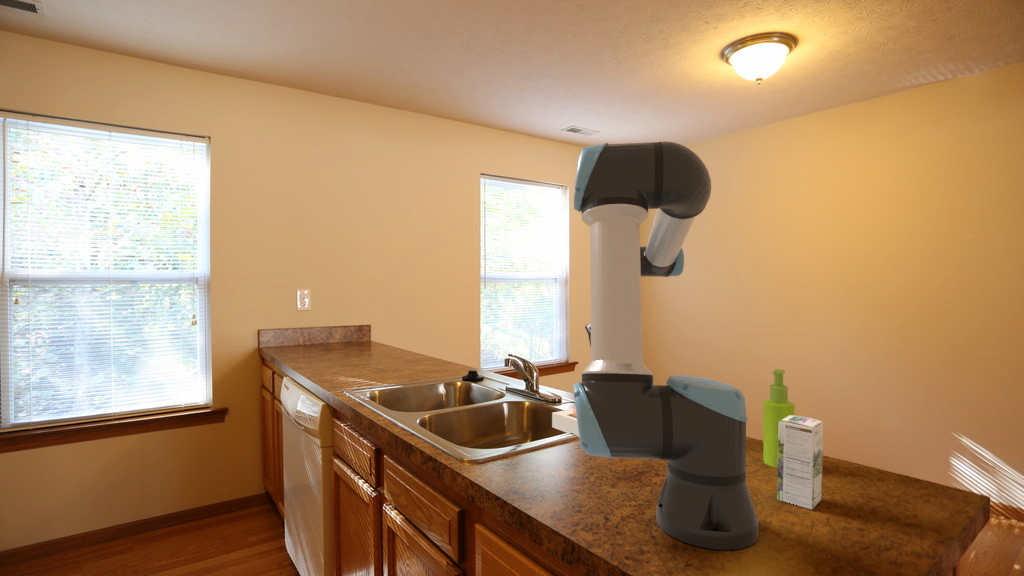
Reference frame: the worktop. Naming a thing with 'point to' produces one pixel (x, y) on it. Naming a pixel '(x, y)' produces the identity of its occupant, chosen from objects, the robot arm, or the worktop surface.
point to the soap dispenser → (774, 417)
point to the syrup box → (800, 461)
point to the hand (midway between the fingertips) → (605, 384)
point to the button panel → (565, 421)
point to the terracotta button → (574, 412)
